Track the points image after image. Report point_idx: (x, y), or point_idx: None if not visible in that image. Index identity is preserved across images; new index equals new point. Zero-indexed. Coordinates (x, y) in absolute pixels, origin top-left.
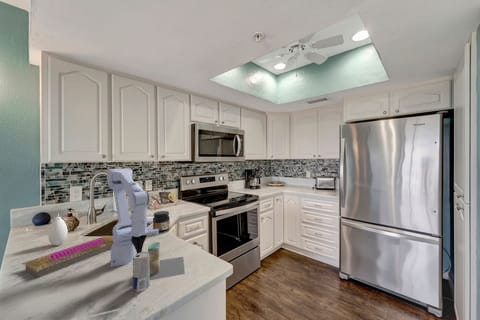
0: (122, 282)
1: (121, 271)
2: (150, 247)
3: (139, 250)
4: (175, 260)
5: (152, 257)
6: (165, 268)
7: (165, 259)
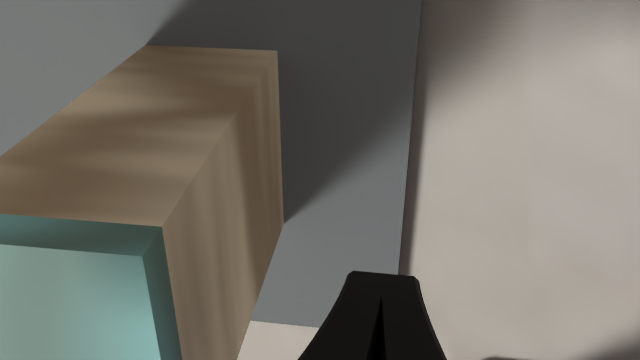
0: (596, 6)
1: (609, 272)
2: (107, 325)
3: (363, 328)
4: None
5: (130, 142)
6: None
7: None
